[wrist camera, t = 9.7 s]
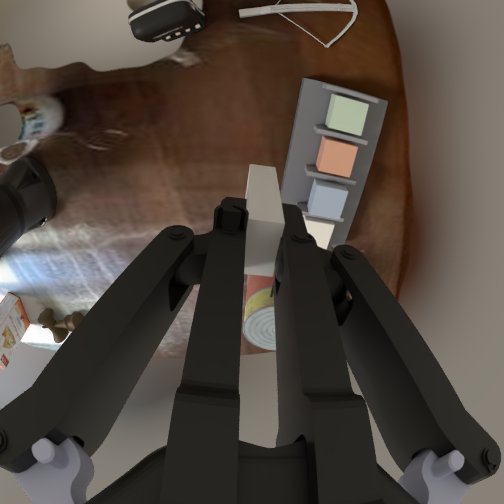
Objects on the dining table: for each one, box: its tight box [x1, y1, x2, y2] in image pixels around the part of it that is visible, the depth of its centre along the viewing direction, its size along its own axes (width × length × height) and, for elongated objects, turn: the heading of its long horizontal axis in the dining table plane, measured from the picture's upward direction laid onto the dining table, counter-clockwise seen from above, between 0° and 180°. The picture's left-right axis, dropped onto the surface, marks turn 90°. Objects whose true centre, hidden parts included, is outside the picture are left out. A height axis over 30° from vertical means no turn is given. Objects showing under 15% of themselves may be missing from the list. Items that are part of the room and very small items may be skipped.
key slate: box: [307, 178, 348, 220], centre depth 38 cm, size 4×4×2 cm
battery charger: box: [128, 0, 206, 42], centre depth 24 cm, size 7×4×11 cm, turn 105°
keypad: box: [280, 78, 388, 252], centre depth 38 cm, size 12×25×5 cm, turn 172°
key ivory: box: [303, 215, 335, 249], centre depth 42 cm, size 4×4×2 cm
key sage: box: [325, 94, 369, 136], centre depth 32 cm, size 4×4×2 cm
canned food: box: [243, 269, 276, 350], centre depth 49 cm, size 11×11×12 cm
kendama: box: [38, 309, 84, 343], centre depth 65 cm, size 6×10×20 cm
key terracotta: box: [316, 135, 358, 177], centre depth 35 cm, size 4×4×2 cm
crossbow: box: [239, 0, 358, 48], centre depth 26 cm, size 16×13×2 cm
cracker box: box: [0, 292, 30, 370], centre depth 59 cm, size 14×6×21 cm, turn 162°
